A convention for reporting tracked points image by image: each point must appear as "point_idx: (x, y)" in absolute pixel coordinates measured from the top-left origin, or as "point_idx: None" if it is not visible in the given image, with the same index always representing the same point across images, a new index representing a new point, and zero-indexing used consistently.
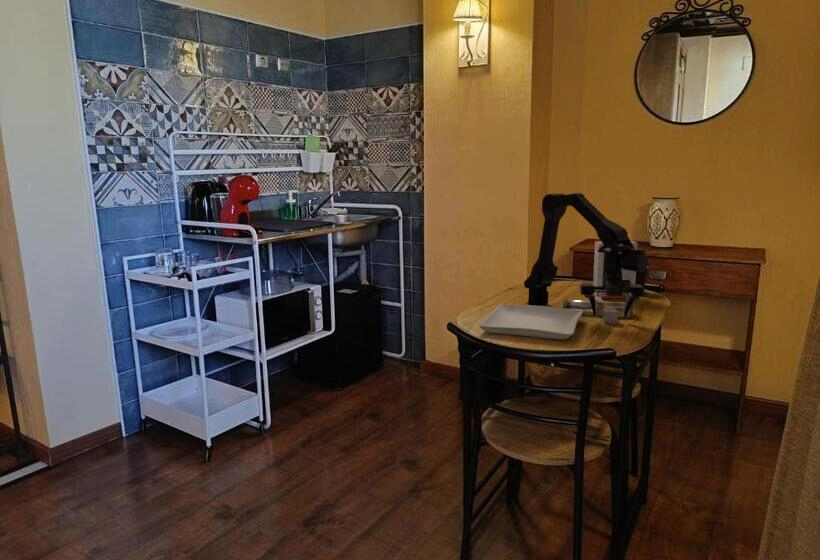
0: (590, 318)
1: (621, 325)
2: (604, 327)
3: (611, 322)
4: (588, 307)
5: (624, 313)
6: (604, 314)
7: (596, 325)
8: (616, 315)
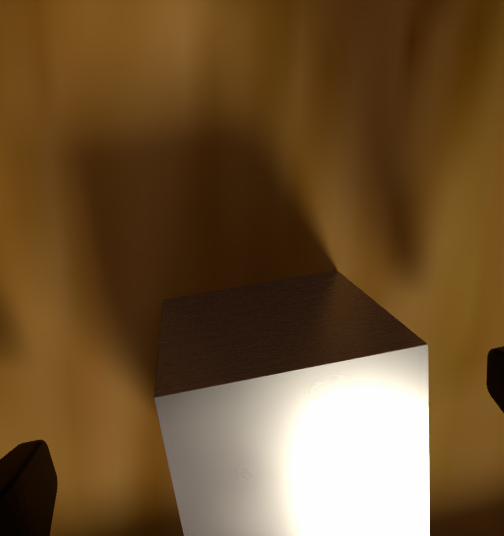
0: (470, 435)
1: (98, 243)
2: (339, 58)
3: (241, 294)
4: None
5: (38, 507)
6: (393, 320)
7: (438, 140)
8: (179, 352)
